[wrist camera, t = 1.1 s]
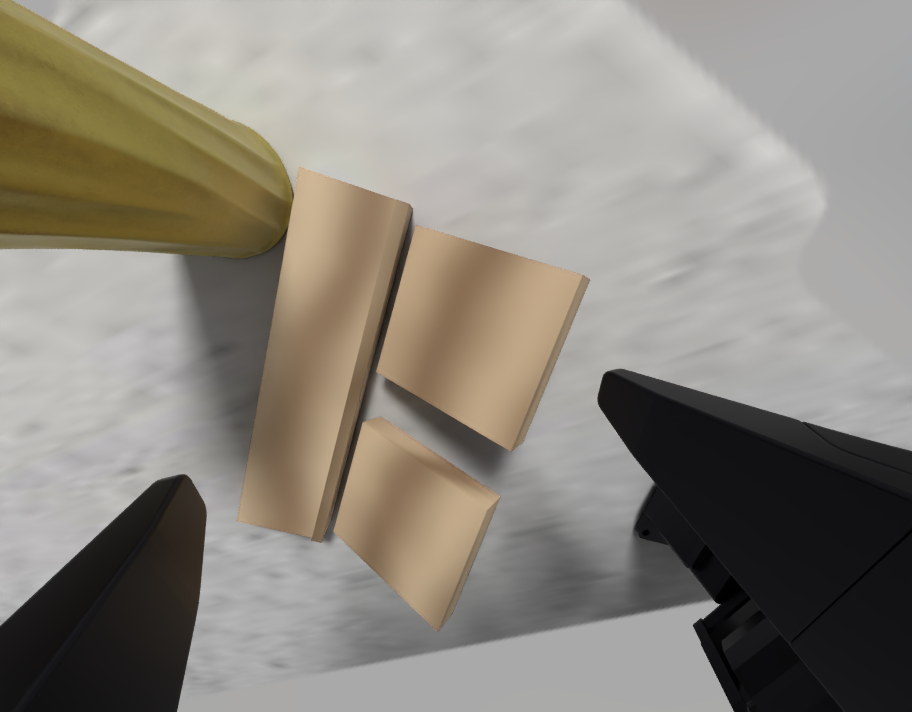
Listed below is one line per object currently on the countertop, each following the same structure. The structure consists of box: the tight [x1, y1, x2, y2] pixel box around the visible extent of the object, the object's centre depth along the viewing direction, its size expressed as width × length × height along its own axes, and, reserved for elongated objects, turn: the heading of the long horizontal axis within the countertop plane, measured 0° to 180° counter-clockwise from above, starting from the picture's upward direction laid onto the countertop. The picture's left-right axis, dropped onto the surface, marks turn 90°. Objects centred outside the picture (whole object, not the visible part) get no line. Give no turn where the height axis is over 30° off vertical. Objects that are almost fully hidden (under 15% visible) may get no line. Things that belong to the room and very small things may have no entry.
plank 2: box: [333, 417, 500, 632], centre depth 19 cm, size 8×8×1 cm
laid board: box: [237, 167, 413, 543], centre depth 19 cm, size 5×20×2 cm, turn 162°
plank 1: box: [376, 225, 590, 452], centre depth 16 cm, size 8×8×1 cm
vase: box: [0, 0, 293, 259], centre depth 10 cm, size 6×6×14 cm
